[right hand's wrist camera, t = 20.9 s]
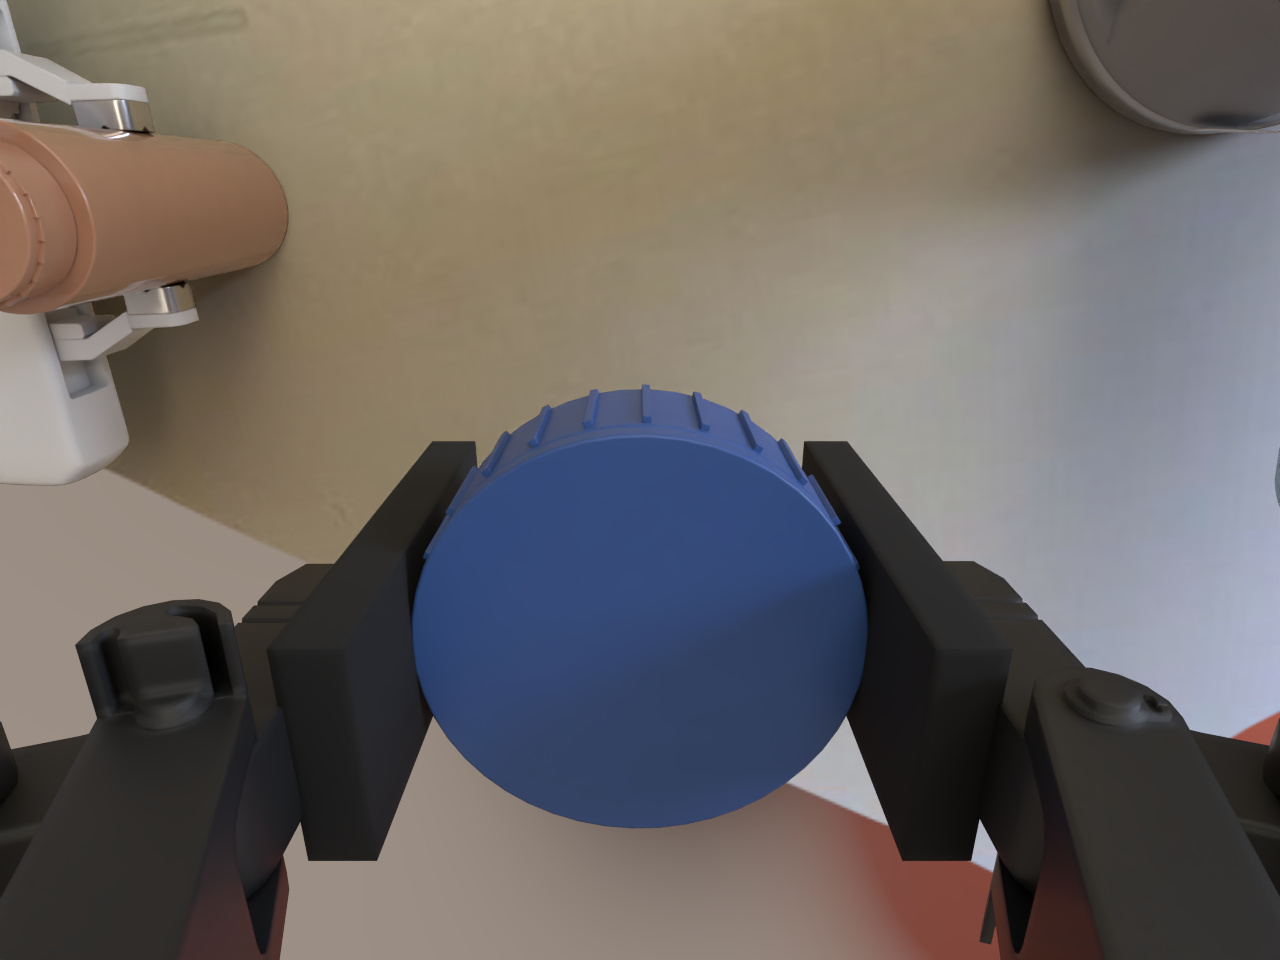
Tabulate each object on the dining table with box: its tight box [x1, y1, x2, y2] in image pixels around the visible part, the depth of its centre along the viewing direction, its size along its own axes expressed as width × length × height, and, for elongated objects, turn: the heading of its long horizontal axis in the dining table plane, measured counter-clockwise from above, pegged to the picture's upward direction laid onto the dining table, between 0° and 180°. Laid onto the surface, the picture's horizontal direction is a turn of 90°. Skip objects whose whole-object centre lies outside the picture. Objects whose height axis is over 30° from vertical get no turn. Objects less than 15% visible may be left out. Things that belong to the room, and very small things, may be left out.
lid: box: [411, 385, 868, 828], centre depth 11 cm, size 6×6×2 cm
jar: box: [0, 118, 288, 315], centre depth 27 cm, size 5×5×15 cm
